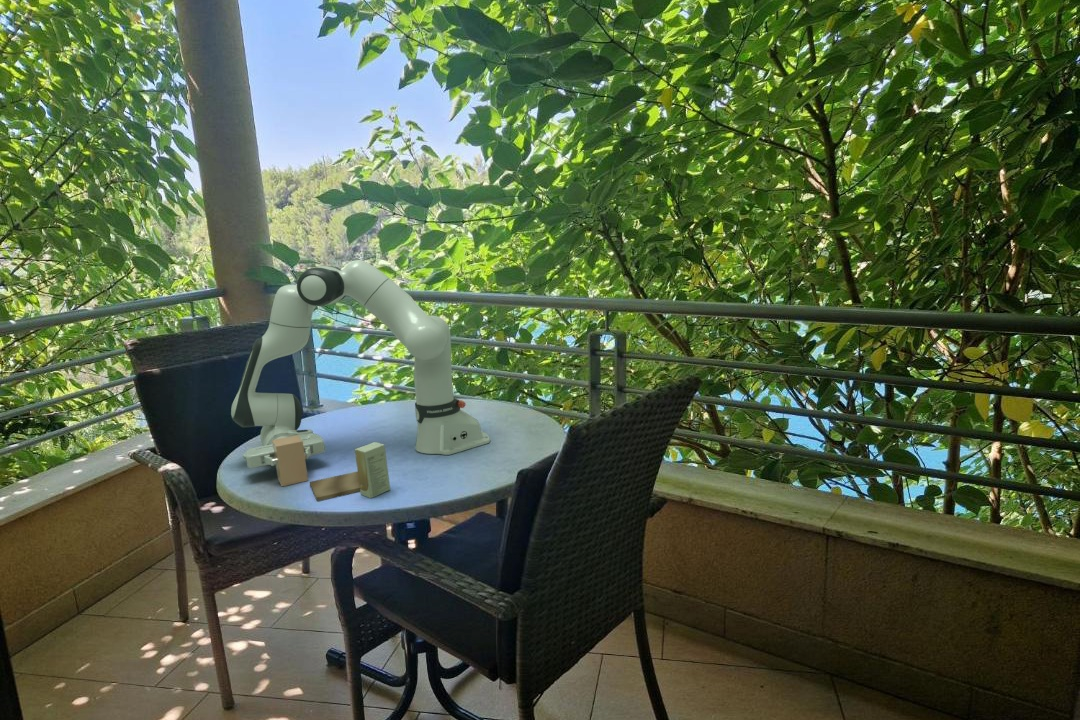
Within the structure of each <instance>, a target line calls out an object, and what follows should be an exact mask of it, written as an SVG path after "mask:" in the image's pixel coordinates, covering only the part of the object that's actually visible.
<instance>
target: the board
mask: <svg viewBox="0 0 1080 720" xmlns="http://www.w3.org/2000/svg"><path fill="white" fill-rule="evenodd" d="M309 486H310V489H311V488H312V489H311V490H312V494H313V495H314V497H316V498H315V500H316V502H320V501H319V500H321V501H324V499H326V500H329V498H330V499H333V498H338V497H337V496H339V497H342V495H343V496H347V495H351V494H355V493H359V492H360V484H359V477H358V470H357V471H353V472H348V473H345V474H341V475H340V474H339V475H336V476H335V475H334V476H331V477H326V478H325V477H324V478H322V479H317V480H313V481H309ZM360 493H361V492H360ZM346 494H347V495H346Z"/></svg>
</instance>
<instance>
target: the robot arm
mask: <svg viewBox="0 0 1080 720" xmlns="http://www.w3.org/2000/svg"><path fill="white" fill-rule="evenodd" d="M346 296H347V297H350V298H351V299H352V298H353V300H355V301H357V302H358V303H359V304H360V305H361V306H362V307H363V308H365V309H366V310H367V311H368V312H369V313H371V314H372V315H373V316H374V317H375V318H376V319H378V320H379V322H381V323H382V324H383V325H384V326H386V327H387V329H388V330H389V331H390V332H391V333H392V334H393V335H394V336H395V337H396V339H397V340H398V341H399V342H400V343H401V344H402V345H403V346H404V347H405V348H406V349H407V350H408V352H409V354H410V355H411V356H412V357H414V358H413V359H414V362H413V363H414V366H413V368H414V369H413V381H414V383H413V384H414V392H415V402H414V407H415V408H414V411H415V412H414V414H415V420H416V422H417V427H416V428H417V431H416V442H415V446H414V449H415V451H416V452H418V453H421V454H428V455H436V454H437V455H445V456H448V455H449V456H450V455H453V454H456V453H460V452H463V451H467V450H469V449H473V448H476V447H480V446H483V445H486V444H489V443H490V442H491V438H490V436H489V434H488V433H486V432H485V431H483V430H482V427H481V424H480V422H479V421H478V420H477V418H475V417H474V416H472V414H471V415H470V414H469V413H467V412H465V411H464V410H462V409H464V408H466V405H467V404H466V402H465V401H463V400H459V399H458V398H455V397H454V389H453V373H452V372H453V371H452V339H451V338H452V337H451V336H452V335H451V329H450V327H449V324H448V323H447V321H446V320H445V319H444V318H442V317H441V316H437V315H432V314H431V315H429V314H427V313H426V312H425V311H424V310H423V309H422V307H420V306H419V305H418V304H417V302H416V301H415V300H414V299H413V296H411V295H410V294H409V293H407V292H406V291H405V290H404V289H403V288H401V286H400V285H398V284H397V283H396V282H395V281H394V280H393V279H391V278H390V277H389V276H388V275H386V273H384V272H383V271H381V270H380V269H378V268H377V267H376V266H374V265H372V264H371V263H369V262H367V261H365V260H362V259H356V260H353V261H351V262H349V263H348V264H347V265H346V266H345V267H344V268H343V269H340V268H339V267H336V266H332V265H331V266H327V265H319V266H315V267H310V268H308V269H306V270H304V271H303V272H302V273H301V274H299V277H298V279H297V282H296V284H286V285H282V286H281V287H279V289H277V291H276V293H275V296H274V299H273V303H272V306H271V311H270V316H269V317H270V318H269V323H268V324H269V325H268V327H267V329H266V331H265V333H264V334H263V335H262V336H261V337H258V338H256V340H255V341H254V342H253V344H252V347H251V349H250V352H249V355H248V358H247V361H246V364H245V367H244V370H243V373H242V377H241V380H240V384H239V387H238V389H237V392H236V396H235V398H234V400H233V402H232V404H231V409H230V410H231V411H230V415H231V419H232V421H233V422H234V423H236V424H237V425H238V426H240V427H241V428H252V427H262V428H261V430H260V435H259V436H260V443H261V446H256V447H251V448H248V449H247V450H246V452H245V453H243V454H242V457H243V459H244V460H246V465H247V468H249V469H254V468H259V467H264V466H268V465H269V466H271V467H276V465H278V464H277V459H276V457H275V456H274V449H273V442H272V440H276V439H281V438H286V437H291V436H296V435H298V436H299V437H300V438H301V440H302V441H303V447H304V454H305V460H306V459H309V458H310V456H315V455H319V454H323V453H325V452H326V446H325V440H324V439H323V438H322V437H321V436H320V435H319V434H318V433H314V431H313V429H299V428H300V426H301V423H302V419H303V418H302V417H303V411H302V410H303V409H302V404H301V401H300V400H299V399H298V397H297V396H296V395H295V394H293V393H282V392H280V393H278V392H275V393H274V392H273V393H272V392H256V388H257V386H258V384H259V383H258V382H259V379H260V376H261V372H262V370H263V368H264V366H265V365H266V364H268V363H269V362H271V361H273V360H276V359H278V358H279V359H280V358H283V357H286V356H290V355H292V354H295V353H297V352H299V351H301V350H302V349H303V348H304V347H305V346H306V345H307V343H308V341H309V338H310V334H311V329H312V326H311V325H312V319H313V313H314V311H315V309H316V307H323V306H330V305H333V304H336V303H338V302H340V301H342V300H344V298H345V297H346ZM298 429H299V430H298Z"/></svg>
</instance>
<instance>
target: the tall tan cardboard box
mask: <svg viewBox="0 0 1080 720" xmlns="http://www.w3.org/2000/svg"><path fill="white" fill-rule="evenodd" d="M272 442H273V449H274V456H275V457H276V459H277V464H278V465H275V468H276V475H277V480H278V482H279V483H280V486H281V487H286V486H291V485H294V484H299V483H304V482H308V481H309V478H308V477H309V476H308V470H307V463H306V459H305V454H304V447H303V441H302V440H301V438H300V437H299V436H298V435H296V436H291V437H286V438H281V439H276V440H272Z"/></svg>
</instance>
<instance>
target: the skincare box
mask: <svg viewBox="0 0 1080 720" xmlns="http://www.w3.org/2000/svg"><path fill="white" fill-rule="evenodd" d="M354 454H355V462H356V467H357V471H358V477H359V484H360V496H364V497H366V498H369V499H373V498H374V497H377V496H379V495H381V494H383V493H385V492H388V491H390V490H391V485H390V477H389V469H388V461H387V453H386V447H385V444H383V443H380V442H376V441H374V442H371V443H368V444H366V445H363V446H360V447H357V448H355V449H354Z"/></svg>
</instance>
